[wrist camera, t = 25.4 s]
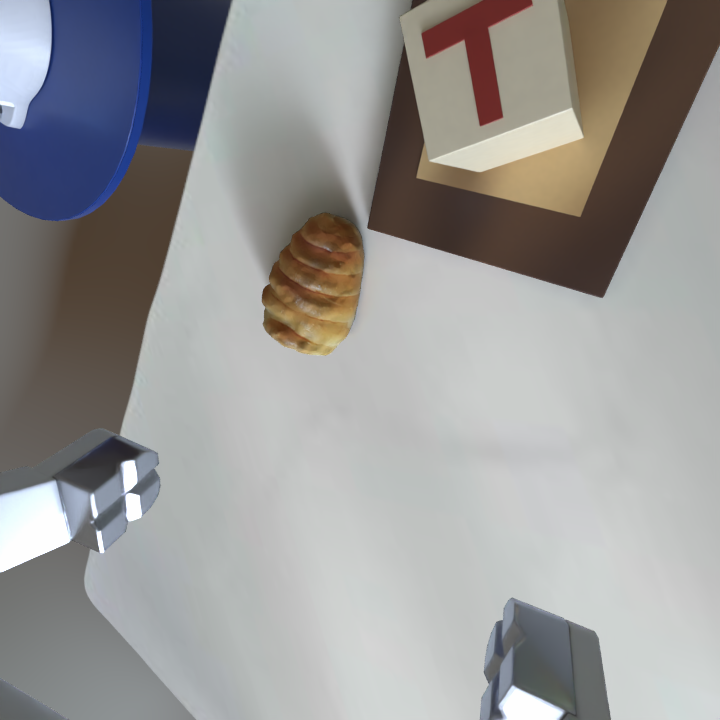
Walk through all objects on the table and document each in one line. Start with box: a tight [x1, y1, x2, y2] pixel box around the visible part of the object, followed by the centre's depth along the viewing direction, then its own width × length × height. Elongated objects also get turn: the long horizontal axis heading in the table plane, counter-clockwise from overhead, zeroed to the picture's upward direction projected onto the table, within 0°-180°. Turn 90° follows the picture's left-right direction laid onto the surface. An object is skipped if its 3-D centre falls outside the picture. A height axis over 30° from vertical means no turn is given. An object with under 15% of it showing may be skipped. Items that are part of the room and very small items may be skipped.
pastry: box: [262, 213, 364, 355], centre depth 29 cm, size 9×7×4 cm
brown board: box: [367, 0, 720, 298], centre depth 22 cm, size 14×16×1 cm
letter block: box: [399, 0, 584, 172], centre depth 18 cm, size 5×5×8 cm
